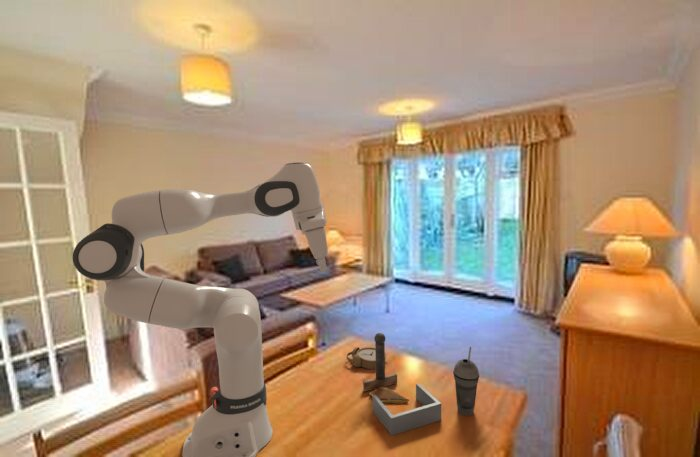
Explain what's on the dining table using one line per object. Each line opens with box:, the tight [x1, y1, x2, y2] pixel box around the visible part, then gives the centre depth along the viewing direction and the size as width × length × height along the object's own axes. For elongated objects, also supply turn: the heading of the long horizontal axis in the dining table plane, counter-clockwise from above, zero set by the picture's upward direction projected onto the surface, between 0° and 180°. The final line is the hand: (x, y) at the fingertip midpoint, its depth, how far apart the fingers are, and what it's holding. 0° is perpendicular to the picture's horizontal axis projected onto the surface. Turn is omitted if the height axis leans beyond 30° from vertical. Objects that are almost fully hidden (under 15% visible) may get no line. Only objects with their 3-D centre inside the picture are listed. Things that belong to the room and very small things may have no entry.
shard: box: [369, 386, 410, 404], centre depth 112 cm, size 11×8×2 cm
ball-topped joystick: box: [362, 332, 398, 392], centre depth 118 cm, size 12×4×18 cm, turn 112°
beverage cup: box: [452, 346, 480, 417], centre depth 104 cm, size 7×7×20 cm
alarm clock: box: [346, 346, 388, 370], centre depth 136 cm, size 11×5×15 cm
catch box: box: [371, 383, 442, 436], centre depth 104 cm, size 16×12×5 cm
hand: (321, 267), depth 101 cm, fingers open, 8 cm apart
